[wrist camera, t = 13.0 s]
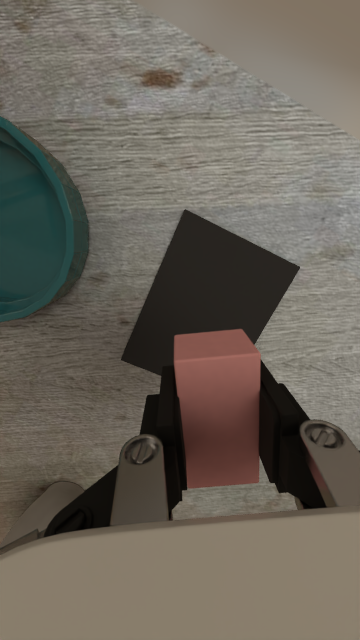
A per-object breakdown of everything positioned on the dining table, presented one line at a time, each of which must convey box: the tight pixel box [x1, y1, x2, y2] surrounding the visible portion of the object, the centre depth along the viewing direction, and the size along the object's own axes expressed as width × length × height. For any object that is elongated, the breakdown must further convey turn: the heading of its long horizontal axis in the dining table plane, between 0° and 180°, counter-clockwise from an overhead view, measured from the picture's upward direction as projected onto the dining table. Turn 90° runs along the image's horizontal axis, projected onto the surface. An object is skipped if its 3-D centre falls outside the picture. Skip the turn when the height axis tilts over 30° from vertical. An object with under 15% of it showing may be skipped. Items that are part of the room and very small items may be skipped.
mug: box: [0, 482, 84, 548], centre depth 28 cm, size 12×9×10 cm
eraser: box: [174, 329, 261, 488], centre depth 10 cm, size 6×3×2 cm, turn 5°
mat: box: [121, 209, 300, 376], centre depth 25 cm, size 16×12×1 cm
